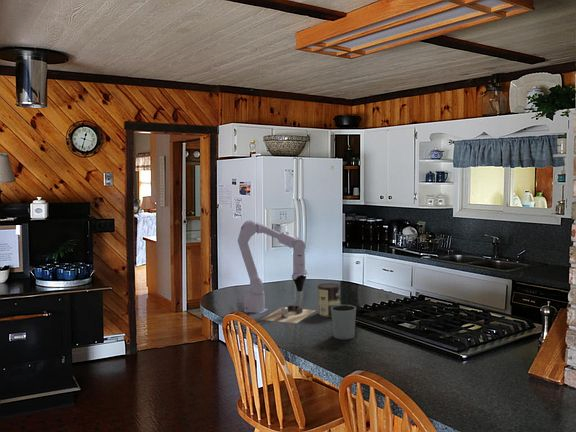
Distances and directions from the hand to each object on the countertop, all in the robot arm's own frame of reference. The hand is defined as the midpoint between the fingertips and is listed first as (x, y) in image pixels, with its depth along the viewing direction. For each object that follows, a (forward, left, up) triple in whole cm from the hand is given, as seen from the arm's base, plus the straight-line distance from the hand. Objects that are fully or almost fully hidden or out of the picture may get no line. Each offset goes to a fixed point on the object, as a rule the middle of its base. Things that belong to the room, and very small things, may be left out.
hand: (299, 291), depth 279 cm
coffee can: (+17, -6, -9) cm, 20 cm away
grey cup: (+34, -36, -9) cm, 50 cm away
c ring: (0, -7, -8) cm, 11 cm away
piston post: (0, -19, -8) cm, 20 cm away
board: (0, -14, -9) cm, 16 cm away
